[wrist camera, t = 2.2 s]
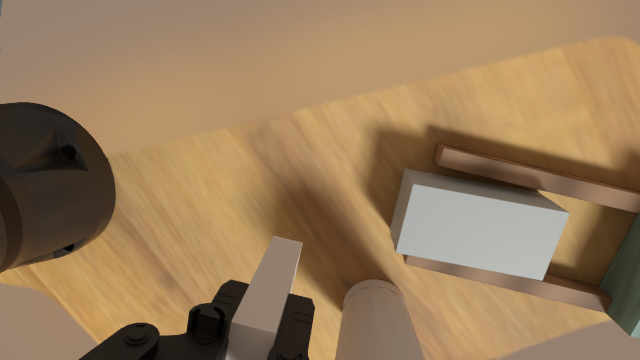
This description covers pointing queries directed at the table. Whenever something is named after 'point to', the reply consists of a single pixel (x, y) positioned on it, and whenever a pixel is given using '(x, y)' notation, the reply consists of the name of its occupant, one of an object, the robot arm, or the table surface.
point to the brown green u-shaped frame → (609, 297)
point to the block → (476, 224)
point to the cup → (376, 324)
